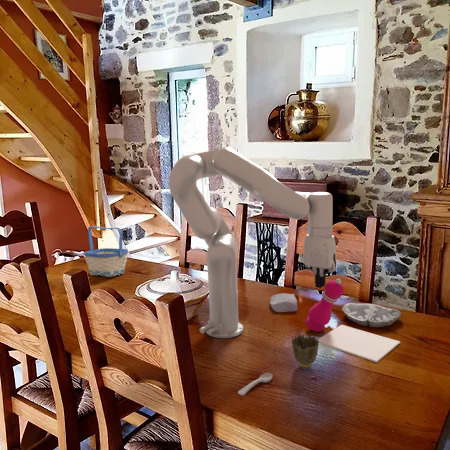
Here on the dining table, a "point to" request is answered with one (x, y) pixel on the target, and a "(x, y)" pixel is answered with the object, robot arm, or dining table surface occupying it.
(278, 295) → the stone block
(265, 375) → the spoon
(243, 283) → the dining table surface
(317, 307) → the pepper mill
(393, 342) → the white mat
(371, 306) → the brain slice
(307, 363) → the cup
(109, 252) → the basket
